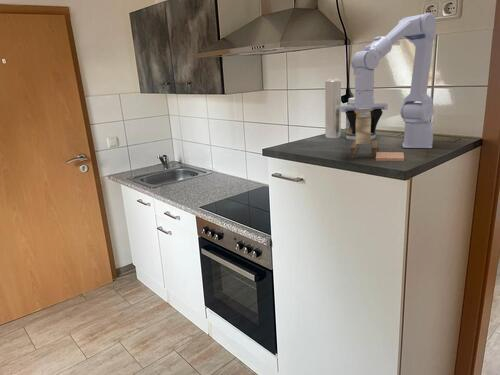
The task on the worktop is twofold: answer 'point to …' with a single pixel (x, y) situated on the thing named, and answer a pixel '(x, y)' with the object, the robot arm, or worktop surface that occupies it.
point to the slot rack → (355, 147)
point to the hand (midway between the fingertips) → (363, 133)
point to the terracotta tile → (389, 156)
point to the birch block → (363, 130)
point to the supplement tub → (359, 114)
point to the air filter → (332, 108)
